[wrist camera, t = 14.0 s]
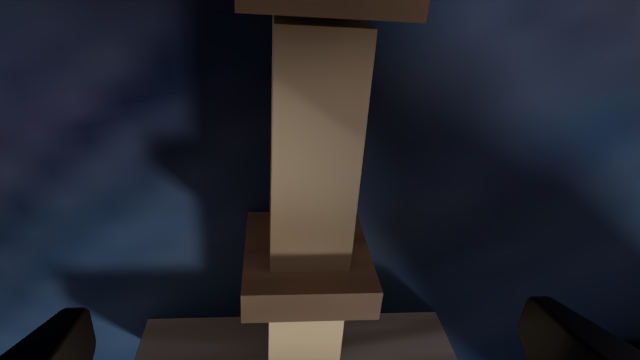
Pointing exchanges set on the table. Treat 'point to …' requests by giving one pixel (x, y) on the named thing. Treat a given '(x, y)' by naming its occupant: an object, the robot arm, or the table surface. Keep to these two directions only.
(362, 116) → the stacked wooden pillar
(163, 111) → the table surface
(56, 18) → the table surface
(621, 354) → the robot arm
